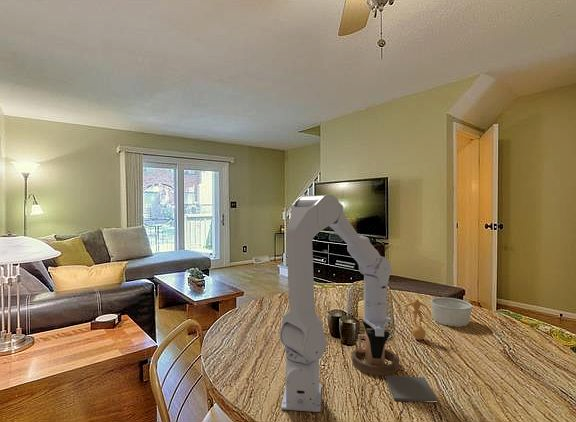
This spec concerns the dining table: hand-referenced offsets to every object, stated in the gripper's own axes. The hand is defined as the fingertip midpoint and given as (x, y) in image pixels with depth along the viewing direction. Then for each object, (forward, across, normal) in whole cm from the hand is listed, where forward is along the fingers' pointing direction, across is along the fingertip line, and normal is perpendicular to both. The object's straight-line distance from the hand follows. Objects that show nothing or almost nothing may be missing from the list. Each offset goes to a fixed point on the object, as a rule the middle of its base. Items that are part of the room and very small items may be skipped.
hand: (374, 352), depth 82 cm
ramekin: (+3, +34, -32) cm, 47 cm away
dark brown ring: (+3, 0, 0) cm, 3 cm away
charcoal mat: (+3, -11, -6) cm, 13 cm away
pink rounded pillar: (+2, 0, 0) cm, 2 cm away
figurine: (+3, +18, -16) cm, 24 cm away
